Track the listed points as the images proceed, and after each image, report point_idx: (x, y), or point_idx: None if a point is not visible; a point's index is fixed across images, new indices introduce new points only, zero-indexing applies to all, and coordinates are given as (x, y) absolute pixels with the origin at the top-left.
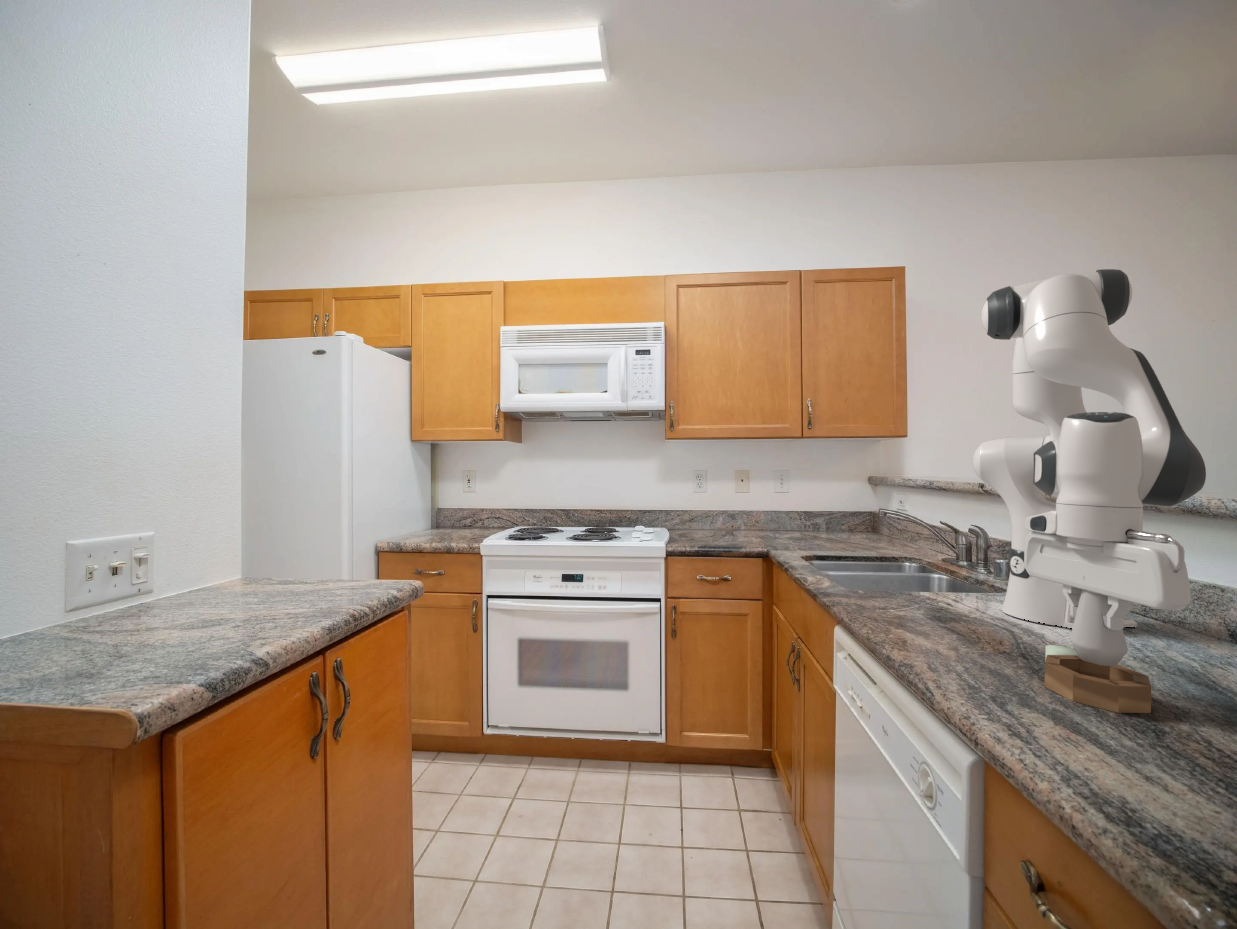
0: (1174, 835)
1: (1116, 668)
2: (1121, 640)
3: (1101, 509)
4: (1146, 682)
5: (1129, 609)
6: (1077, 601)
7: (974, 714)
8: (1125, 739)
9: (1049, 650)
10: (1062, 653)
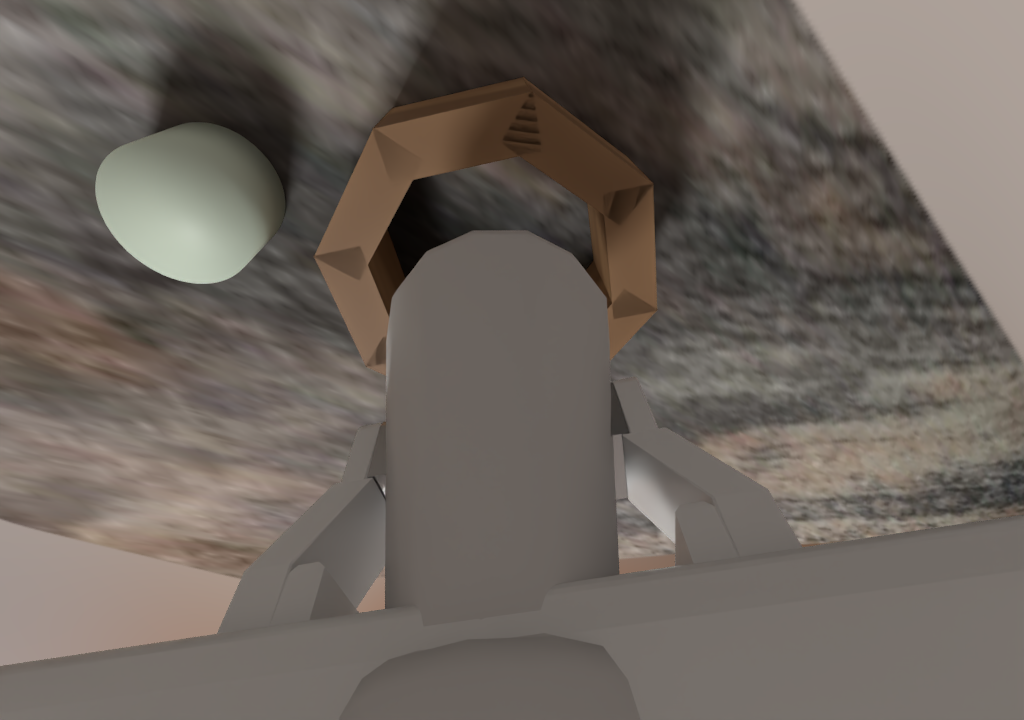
0: (1015, 466)
1: (444, 171)
2: (605, 330)
3: None
4: (614, 170)
5: (737, 482)
6: (372, 541)
7: (657, 542)
8: (772, 351)
9: (213, 280)
10: (247, 255)
